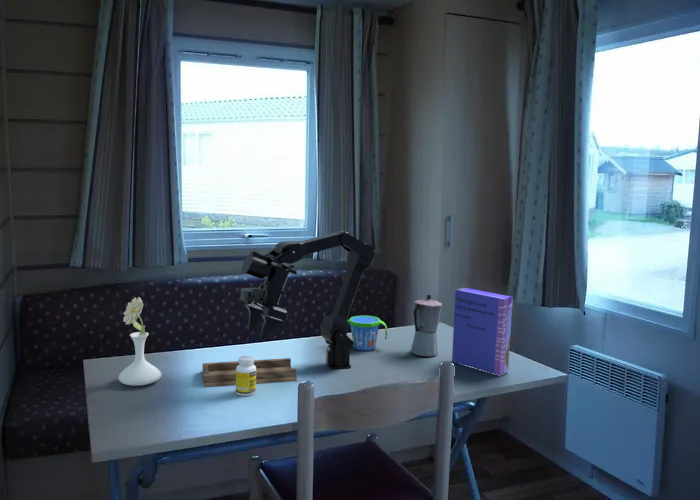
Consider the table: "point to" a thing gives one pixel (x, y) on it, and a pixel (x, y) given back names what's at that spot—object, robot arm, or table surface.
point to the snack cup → (365, 331)
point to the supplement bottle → (246, 376)
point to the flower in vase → (138, 350)
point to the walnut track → (264, 372)
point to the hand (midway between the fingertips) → (255, 335)
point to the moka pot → (426, 327)
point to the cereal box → (482, 330)
